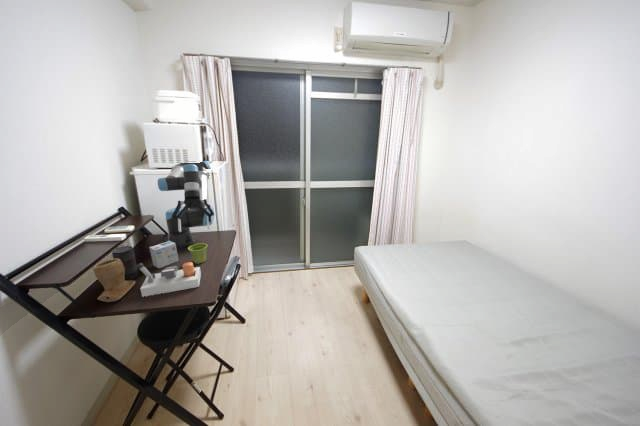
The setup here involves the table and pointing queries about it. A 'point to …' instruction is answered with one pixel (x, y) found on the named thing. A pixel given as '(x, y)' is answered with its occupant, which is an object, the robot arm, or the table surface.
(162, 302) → the table surface
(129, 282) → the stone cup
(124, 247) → the camera lens
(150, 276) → the toggle lever
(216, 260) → the table surface
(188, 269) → the orange button
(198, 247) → the plant pot
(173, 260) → the light bulb box
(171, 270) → the plate
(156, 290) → the console
